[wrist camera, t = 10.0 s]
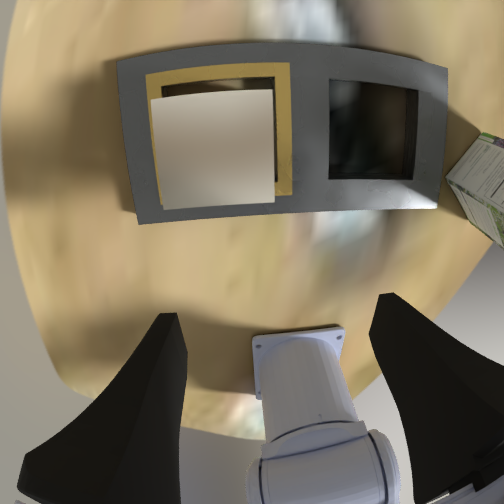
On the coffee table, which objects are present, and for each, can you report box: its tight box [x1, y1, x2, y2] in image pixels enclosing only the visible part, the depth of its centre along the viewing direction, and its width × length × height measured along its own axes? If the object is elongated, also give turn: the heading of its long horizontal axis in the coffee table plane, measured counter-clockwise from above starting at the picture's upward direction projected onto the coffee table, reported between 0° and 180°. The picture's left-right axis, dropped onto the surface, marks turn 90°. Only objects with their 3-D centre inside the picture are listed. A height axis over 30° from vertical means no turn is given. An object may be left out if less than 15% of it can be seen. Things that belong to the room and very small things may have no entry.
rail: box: [117, 43, 448, 225], centre depth 16 cm, size 10×20×2 cm, turn 93°
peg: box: [151, 90, 275, 210], centre depth 13 cm, size 4×4×8 cm
